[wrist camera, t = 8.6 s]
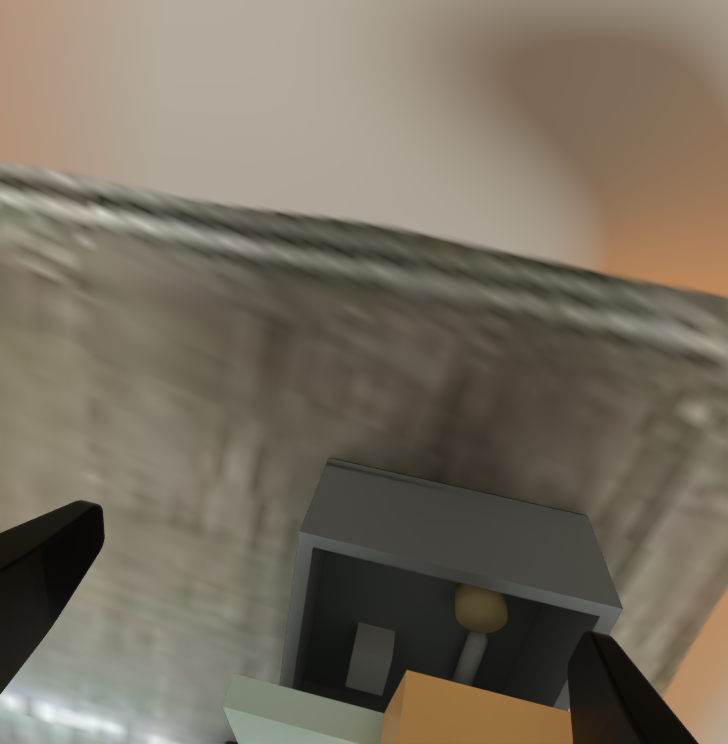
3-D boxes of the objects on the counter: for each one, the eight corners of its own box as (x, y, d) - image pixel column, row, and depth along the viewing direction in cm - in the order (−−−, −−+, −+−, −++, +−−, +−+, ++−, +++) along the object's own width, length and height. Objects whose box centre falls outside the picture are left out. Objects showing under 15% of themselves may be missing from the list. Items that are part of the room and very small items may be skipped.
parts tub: (486, 741, 29) (495, 870, 24) (293, 689, 30) (260, 803, 25) (587, 516, 22) (631, 631, 17) (328, 457, 23) (292, 548, 18)
